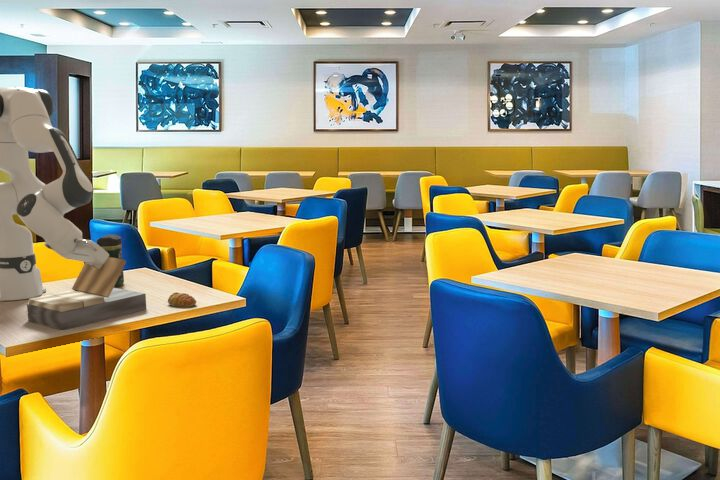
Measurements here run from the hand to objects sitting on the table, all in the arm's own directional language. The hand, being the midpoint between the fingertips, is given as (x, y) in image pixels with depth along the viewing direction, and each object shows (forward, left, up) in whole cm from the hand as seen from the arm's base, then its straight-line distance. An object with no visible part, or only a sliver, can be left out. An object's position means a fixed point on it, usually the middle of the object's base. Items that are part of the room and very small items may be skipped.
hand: (98, 266), depth 210 cm
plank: (0, +1, -3) cm, 3 cm away
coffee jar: (-32, +26, -14) cm, 44 cm away
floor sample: (0, -4, -14) cm, 15 cm away
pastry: (+13, +20, -15) cm, 28 cm away
